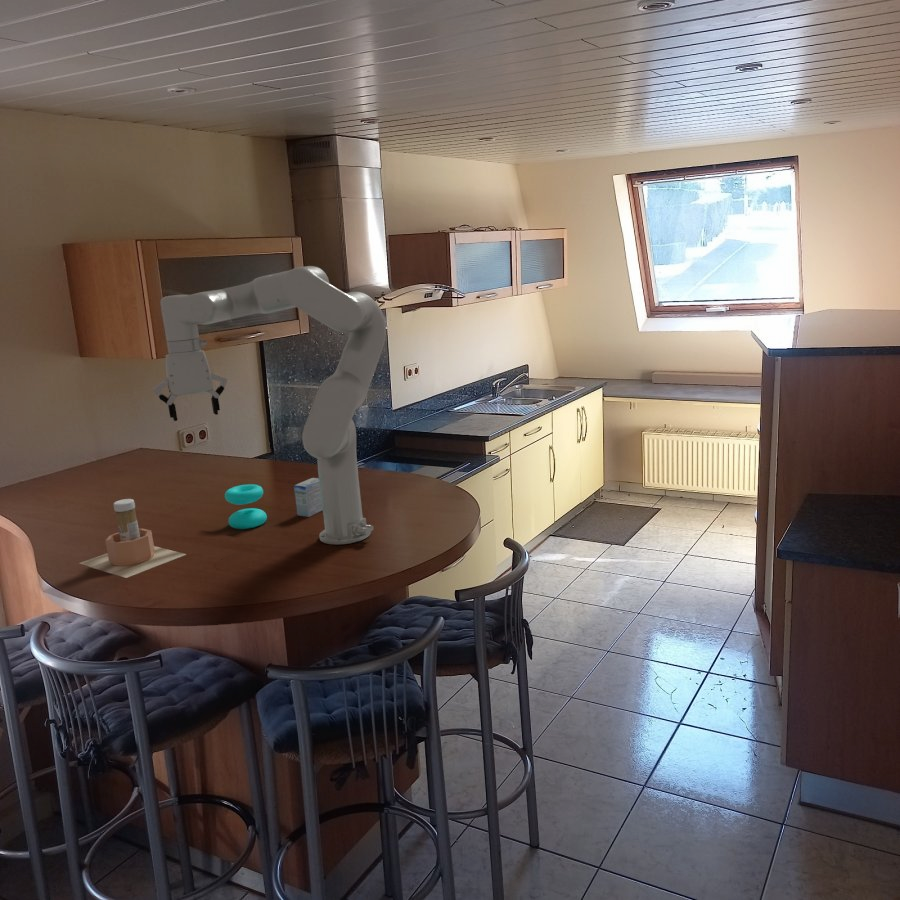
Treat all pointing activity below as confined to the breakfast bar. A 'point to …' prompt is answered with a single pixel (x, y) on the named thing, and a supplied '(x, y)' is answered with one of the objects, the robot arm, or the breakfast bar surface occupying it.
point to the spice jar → (127, 519)
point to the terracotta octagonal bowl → (130, 549)
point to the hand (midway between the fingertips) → (195, 417)
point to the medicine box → (308, 497)
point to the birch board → (127, 571)
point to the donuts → (245, 516)
